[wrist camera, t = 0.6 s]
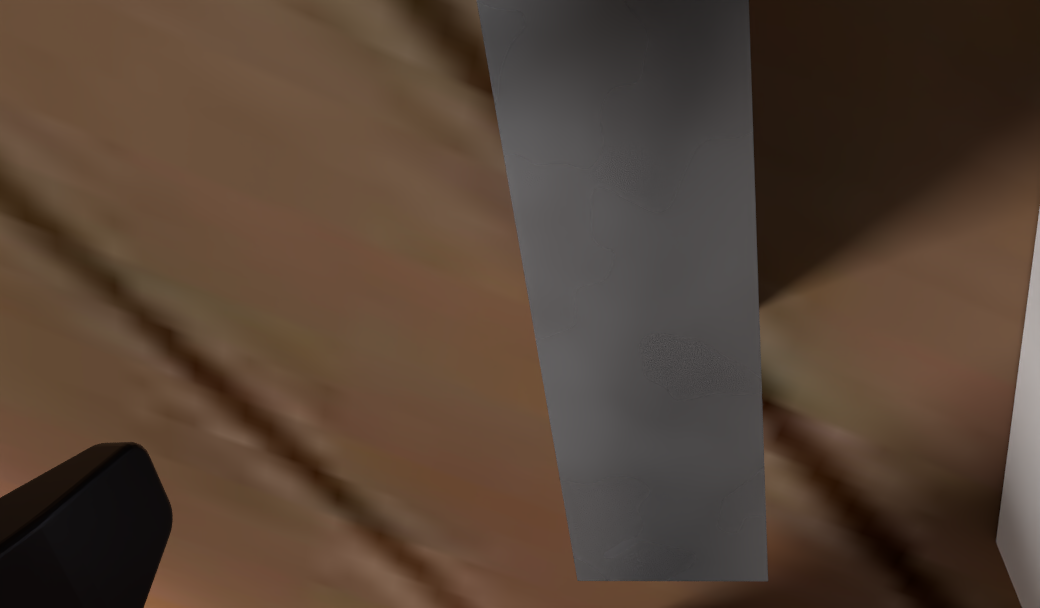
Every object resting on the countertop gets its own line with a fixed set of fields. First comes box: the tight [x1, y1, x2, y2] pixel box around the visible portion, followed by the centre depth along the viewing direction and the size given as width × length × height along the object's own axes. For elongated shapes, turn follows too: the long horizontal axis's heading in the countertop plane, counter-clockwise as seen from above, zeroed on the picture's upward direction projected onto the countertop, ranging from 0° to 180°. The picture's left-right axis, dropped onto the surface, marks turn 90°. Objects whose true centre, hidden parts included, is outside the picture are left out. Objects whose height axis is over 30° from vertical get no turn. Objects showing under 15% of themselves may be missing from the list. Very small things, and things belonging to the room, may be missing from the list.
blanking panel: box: [477, 0, 768, 581], centre depth 15 cm, size 12×3×8 cm, turn 9°
